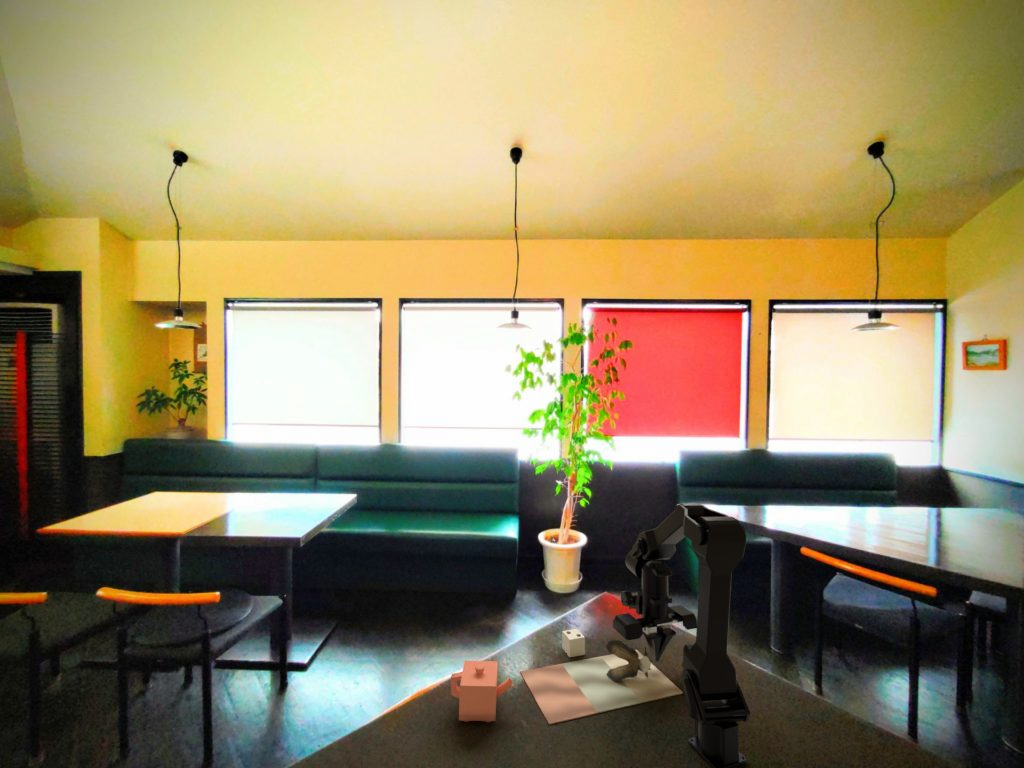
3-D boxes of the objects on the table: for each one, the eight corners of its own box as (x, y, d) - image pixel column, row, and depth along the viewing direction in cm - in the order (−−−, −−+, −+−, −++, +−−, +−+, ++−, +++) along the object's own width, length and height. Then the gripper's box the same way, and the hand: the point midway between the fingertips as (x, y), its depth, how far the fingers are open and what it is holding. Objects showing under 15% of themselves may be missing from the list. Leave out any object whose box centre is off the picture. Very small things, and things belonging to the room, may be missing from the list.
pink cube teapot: (512, 727, 75) (513, 680, 76) (447, 726, 75) (448, 678, 76) (512, 698, 83) (513, 655, 83) (453, 696, 83) (454, 654, 84)
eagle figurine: (640, 656, 96) (602, 648, 96) (650, 639, 92) (611, 630, 92) (646, 693, 89) (605, 685, 89) (658, 676, 85) (615, 667, 85)
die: (584, 654, 98) (584, 636, 98) (569, 657, 97) (569, 639, 97) (577, 645, 102) (577, 628, 102) (562, 648, 101) (562, 630, 101)
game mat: (683, 693, 85) (683, 692, 85) (549, 724, 76) (549, 723, 76) (636, 650, 100) (636, 649, 100) (520, 672, 91) (520, 671, 91)
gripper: (666, 571, 104) (666, 635, 103) (600, 579, 99) (600, 647, 98) (698, 590, 94) (699, 661, 93) (626, 600, 88) (627, 676, 87)
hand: (655, 660), depth 93 cm, fingers closed
